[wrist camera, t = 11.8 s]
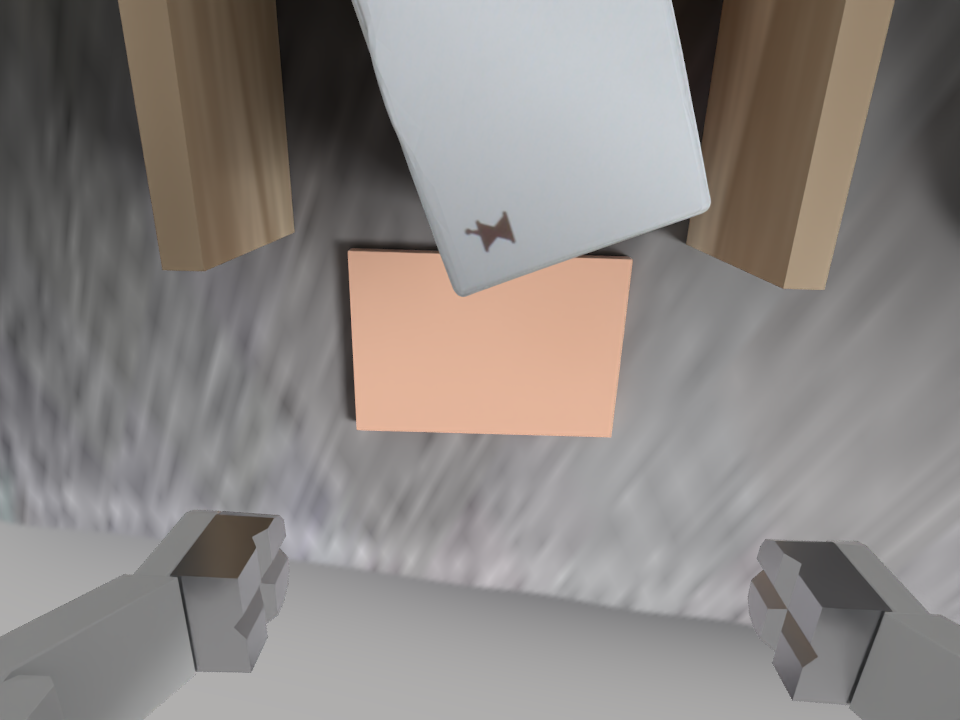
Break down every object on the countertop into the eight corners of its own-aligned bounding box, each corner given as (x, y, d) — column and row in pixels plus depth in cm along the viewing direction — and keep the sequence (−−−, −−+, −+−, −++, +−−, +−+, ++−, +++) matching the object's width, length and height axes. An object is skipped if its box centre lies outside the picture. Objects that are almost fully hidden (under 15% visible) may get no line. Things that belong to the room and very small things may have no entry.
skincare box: (585, 181, 20) (722, 224, 8) (468, 221, 20) (450, 311, 9) (535, -13, 18) (627, -299, 6) (407, 36, 18) (283, -149, 7)
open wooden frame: (771, -94, 17) (955, -250, 10) (713, 244, 20) (824, 289, 14) (232, -113, 17) (71, -282, 10) (266, 231, 20) (162, 270, 14)
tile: (628, 256, 20) (632, 259, 20) (607, 430, 23) (611, 437, 22) (351, 248, 20) (347, 250, 20) (359, 423, 23) (356, 430, 22)
